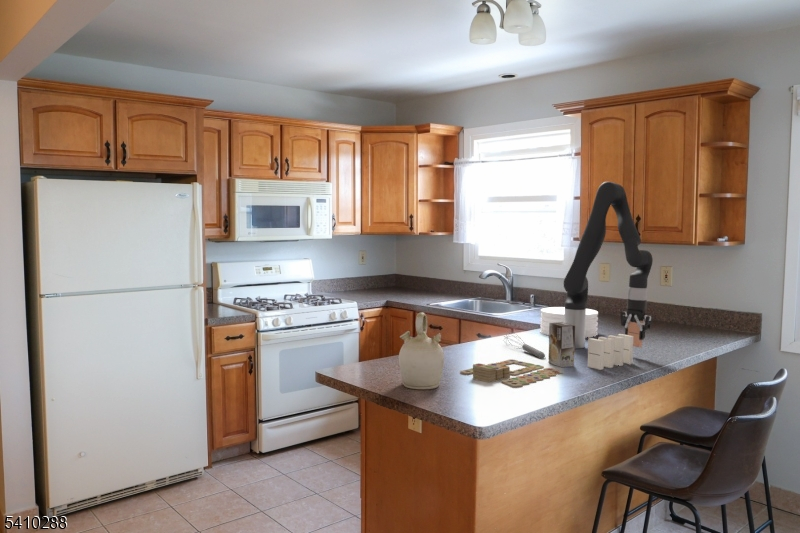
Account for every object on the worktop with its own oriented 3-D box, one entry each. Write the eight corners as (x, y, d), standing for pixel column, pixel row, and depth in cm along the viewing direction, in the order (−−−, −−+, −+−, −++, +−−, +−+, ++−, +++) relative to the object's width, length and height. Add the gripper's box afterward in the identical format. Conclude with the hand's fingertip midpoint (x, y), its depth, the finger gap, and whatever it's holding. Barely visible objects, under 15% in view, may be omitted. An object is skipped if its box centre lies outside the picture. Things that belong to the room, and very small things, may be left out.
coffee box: (575, 366, 248) (576, 325, 246) (561, 367, 245) (562, 326, 244) (561, 361, 256) (562, 321, 255) (547, 362, 254) (548, 322, 253)
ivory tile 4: (600, 369, 242) (601, 341, 242) (587, 366, 247) (588, 338, 246) (603, 369, 243) (604, 340, 243) (590, 366, 248) (591, 338, 247)
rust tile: (638, 347, 263) (640, 321, 262) (626, 344, 268) (628, 318, 267) (641, 347, 264) (643, 320, 263) (629, 344, 269) (631, 318, 268)
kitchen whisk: (538, 360, 258) (539, 345, 258) (500, 345, 290) (500, 331, 290) (552, 359, 260) (552, 344, 260) (512, 344, 292) (512, 331, 292)
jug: (389, 386, 214) (390, 313, 213) (414, 377, 227) (415, 308, 225) (428, 394, 206) (429, 317, 204) (452, 384, 219) (453, 311, 217)
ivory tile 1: (629, 364, 253) (630, 336, 252) (616, 361, 257) (617, 334, 257) (632, 363, 254) (633, 336, 253) (619, 360, 258) (620, 333, 258)
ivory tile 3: (610, 367, 246) (611, 339, 245) (597, 364, 251) (598, 337, 250) (613, 367, 247) (614, 339, 246) (600, 364, 252) (601, 336, 251)
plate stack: (588, 340, 304) (589, 316, 303) (532, 334, 318) (532, 311, 318) (603, 332, 327) (604, 309, 327) (550, 326, 342) (551, 305, 341)
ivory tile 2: (620, 365, 249) (621, 338, 248) (607, 363, 254) (608, 335, 253) (623, 365, 250) (623, 337, 249) (610, 362, 255) (611, 335, 254)
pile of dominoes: (515, 390, 213) (516, 374, 213) (454, 375, 233) (454, 360, 232) (570, 373, 238) (570, 359, 237) (510, 361, 257) (510, 348, 257)
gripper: (658, 300, 260) (655, 340, 261) (628, 295, 272) (625, 334, 273) (646, 301, 256) (643, 342, 257) (616, 296, 268) (614, 336, 269)
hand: (634, 338), depth 265 cm, fingers closed on rust tile, 6 cm apart
